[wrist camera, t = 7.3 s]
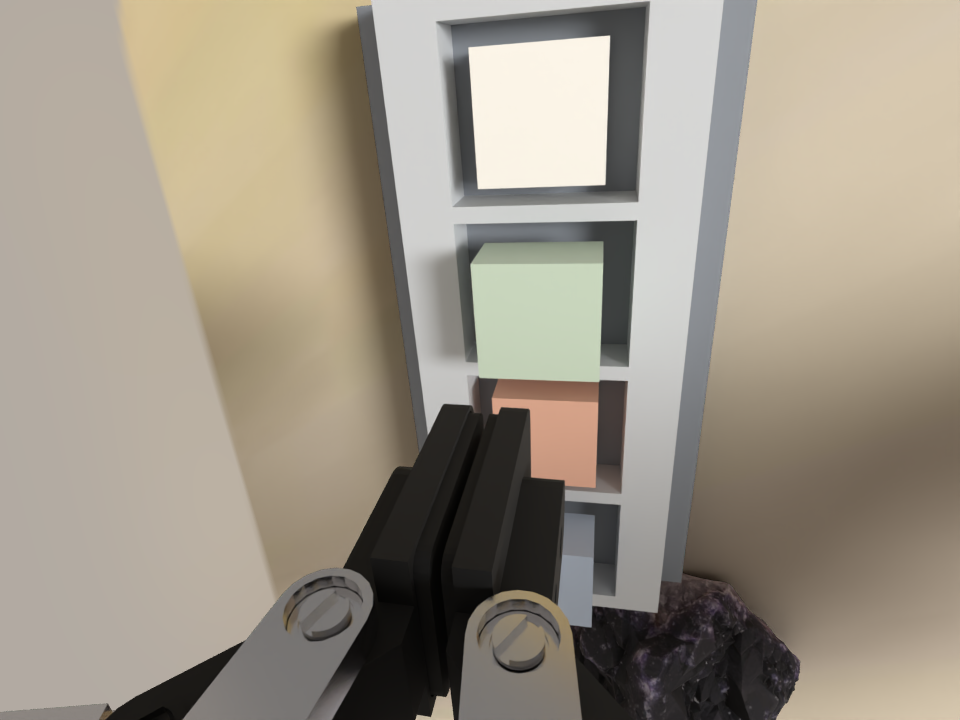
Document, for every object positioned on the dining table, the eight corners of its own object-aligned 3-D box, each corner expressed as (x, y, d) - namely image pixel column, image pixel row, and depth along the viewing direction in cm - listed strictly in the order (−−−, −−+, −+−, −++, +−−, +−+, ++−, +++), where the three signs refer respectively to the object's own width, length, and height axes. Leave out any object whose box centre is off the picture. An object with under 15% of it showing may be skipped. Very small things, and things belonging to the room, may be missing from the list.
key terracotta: (599, 371, 24) (598, 402, 22) (596, 452, 26) (595, 487, 24) (501, 368, 25) (491, 398, 23) (506, 446, 27) (497, 480, 25)
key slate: (594, 515, 25) (593, 557, 23) (592, 582, 27) (591, 627, 25) (501, 507, 26) (492, 548, 24) (505, 573, 28) (497, 616, 26)
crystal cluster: (769, 535, 30) (808, 713, 21) (815, 718, 34) (864, 930, 25) (533, 556, 35) (488, 704, 27) (597, 711, 39) (575, 884, 30)
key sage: (603, 241, 20) (603, 263, 18) (600, 350, 22) (599, 382, 19) (484, 243, 21) (470, 264, 18) (491, 347, 22) (479, 377, 20)
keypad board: (747, -27, 19) (779, -47, 15) (676, 553, 31) (686, 616, 27) (376, 11, 21) (332, 1, 18) (442, 531, 33) (424, 586, 30)
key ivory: (609, 38, 19) (610, 35, 16) (605, 172, 20) (605, 185, 18) (483, 48, 19) (468, 47, 17) (490, 176, 21) (477, 188, 19)
